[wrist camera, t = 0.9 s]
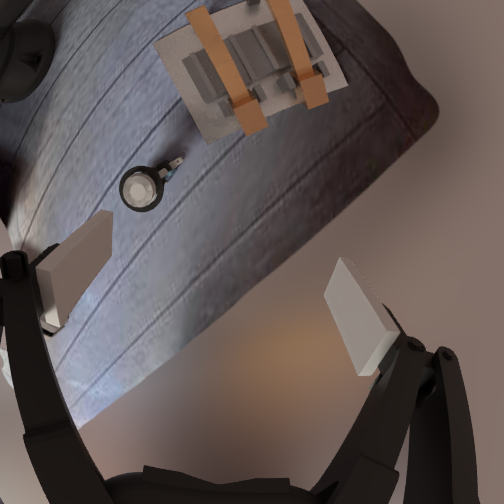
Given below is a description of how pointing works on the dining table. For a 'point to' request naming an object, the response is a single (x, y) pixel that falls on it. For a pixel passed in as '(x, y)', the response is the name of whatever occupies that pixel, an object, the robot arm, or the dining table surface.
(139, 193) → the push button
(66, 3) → the dining table surface
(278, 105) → the heatsink base
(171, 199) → the dining table surface
